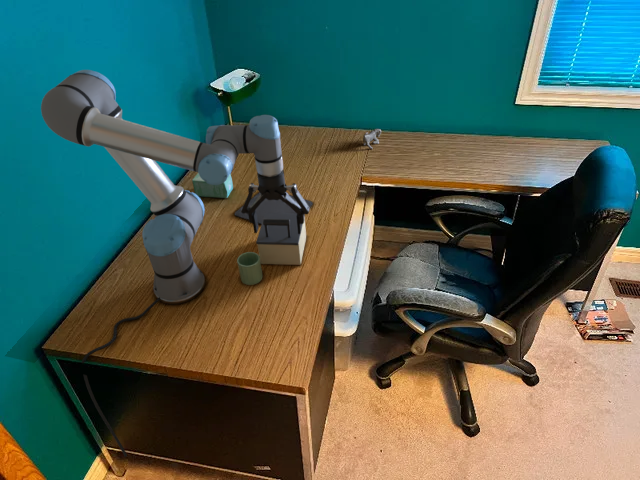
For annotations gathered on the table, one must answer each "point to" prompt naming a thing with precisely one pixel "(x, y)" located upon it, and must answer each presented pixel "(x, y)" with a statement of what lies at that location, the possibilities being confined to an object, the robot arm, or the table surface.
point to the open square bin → (283, 251)
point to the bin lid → (279, 229)
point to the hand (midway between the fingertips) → (278, 231)
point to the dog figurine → (371, 137)
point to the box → (212, 188)
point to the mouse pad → (269, 208)
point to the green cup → (250, 268)
